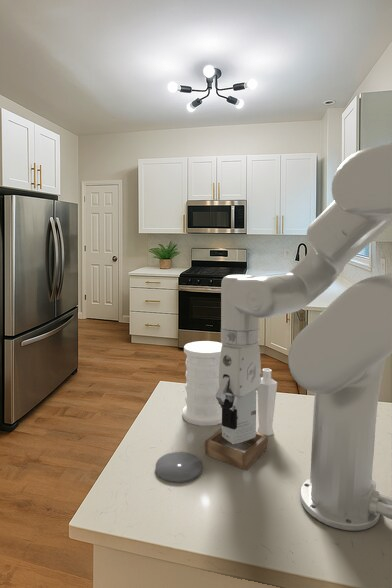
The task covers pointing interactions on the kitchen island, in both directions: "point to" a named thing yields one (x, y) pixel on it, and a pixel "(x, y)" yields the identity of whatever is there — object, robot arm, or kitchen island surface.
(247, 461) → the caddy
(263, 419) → the white faceted vase
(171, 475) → the coaster
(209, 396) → the decorative container
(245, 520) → the kitchen island surface
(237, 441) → the skincare box
